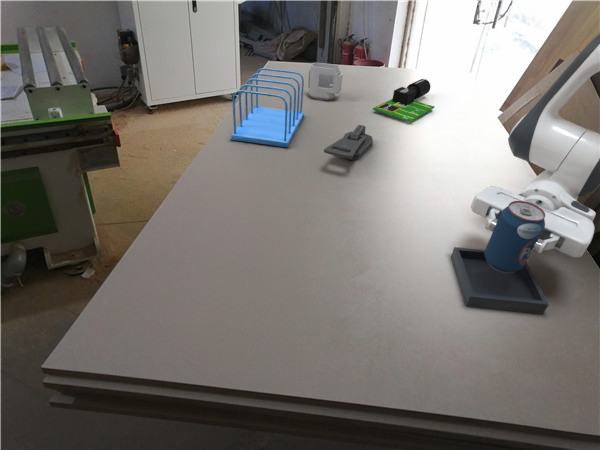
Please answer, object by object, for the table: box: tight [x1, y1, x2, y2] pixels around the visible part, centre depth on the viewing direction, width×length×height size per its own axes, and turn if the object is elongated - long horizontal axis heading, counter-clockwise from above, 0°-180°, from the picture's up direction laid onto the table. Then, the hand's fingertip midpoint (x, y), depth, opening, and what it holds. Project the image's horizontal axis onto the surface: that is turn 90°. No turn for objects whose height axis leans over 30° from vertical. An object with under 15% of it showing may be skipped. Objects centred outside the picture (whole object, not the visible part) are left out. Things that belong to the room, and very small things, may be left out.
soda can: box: [484, 201, 545, 273], centre depth 71 cm, size 7×7×12 cm
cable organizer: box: [307, 62, 344, 102], centre depth 151 cm, size 7×12×12 cm, turn 75°
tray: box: [450, 246, 550, 315], centre depth 77 cm, size 14×14×3 cm
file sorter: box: [231, 67, 305, 148], centre depth 126 cm, size 25×17×15 cm
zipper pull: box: [323, 124, 374, 161], centre depth 115 cm, size 9×7×25 cm
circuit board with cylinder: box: [372, 78, 435, 123], centre depth 148 cm, size 30×7×15 cm
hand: (513, 237), depth 70 cm, fingers closed on soda can, 7 cm apart
